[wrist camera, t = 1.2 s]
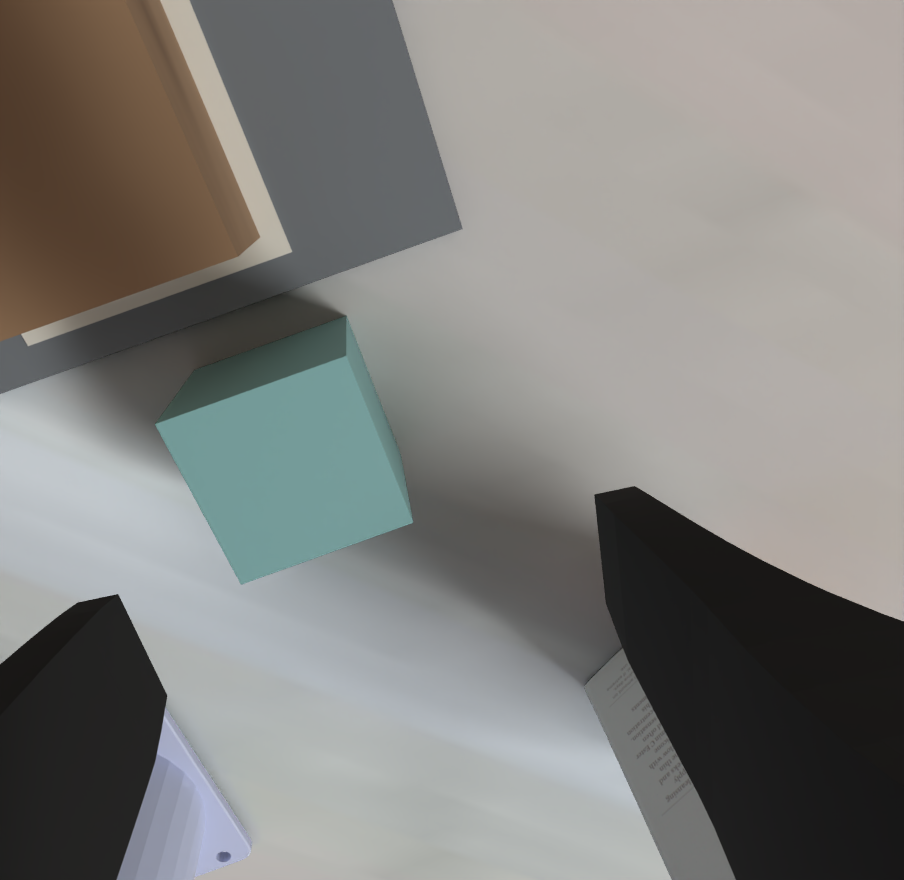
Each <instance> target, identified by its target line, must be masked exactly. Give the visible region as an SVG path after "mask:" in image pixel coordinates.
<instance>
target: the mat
mask: <svg viewBox="0 0 904 880" xmlns="http://www.w3.org/2000/svg"><path fill="white" fill-rule="evenodd" d="M160 1H161V3H162V6H163V8H164V10H165V13H166V15H167V18H168V20H169V22H170V25H171V27H172V29H173V32H174V34H175V37H176V39H177V41H178V44H179V46H180V48H181V51H182V53H183V55H184V58H185V60H186V63H187V65H188V67H189V70H190V72H191V74H192V77H193V79H194V81H195V84H196V86H197V89H198V91H199V93H200V96H201V98H202V100H203V103H204V105H205V107H206V110H207V112H208V115H209V117H210V119H211V122H212V124H213V126H214V129H215V131H216V133H217V136H218V138H219V141H220V143H221V145H222V148H223V150H224V152H225V155H226V157H227V159H228V162H229V164H230V167H231V169H232V171H233V174H234V176H235V178H236V181H237V183H238V185H239V188H240V190H241V193H242V195H243V197H244V200H245V202H246V204H247V207H248V209H249V211H250V214H251V216H252V219H253V221H254V223H255V226H256V228H257V230H258V233H259V235H260V238H259V239H258V240H257V241H255V242H254V243H253V244H252V245H251V246H250V247H249V248H247V249H246V250H245V251H244V252H243V253H242V254H241V255H239V256H238V257H236V258H233V259H230V260H227V261H225V262H222V263H219V264H216V265H213V266H211V267H208V268H205V269H202V270H199V271H197V272H194V273H191V274H188V275H185V276H183V277H180V278H177V279H174V280H171V281H168V282H166V283H163V284H160V285H157V286H154V287H152V288H149V289H146V290H143V291H140V292H138V293H135V294H132V295H129V296H126V297H124V298H121V299H118V300H115V301H112V302H110V303H107V304H104V305H101V306H98V307H96V308H93V309H90V310H87V311H84V312H82V313H79V314H76V315H73V316H70V317H67V318H65V319H62V320H59V321H56V322H53V323H51V324H48V325H45V326H42V327H39V328H37V329H34V330H31V331H28V332H25V333H23V334H20V335H17V336H14V337H11V338H9V339H6V340H3V341H0V394H1V393H4V392H7V391H10V390H12V389H15V388H18V387H21V386H24V385H26V384H29V383H32V382H35V381H38V380H40V379H43V378H46V377H49V376H52V375H54V374H57V373H60V372H63V371H66V370H68V369H71V368H74V367H77V366H80V365H82V364H85V363H88V362H91V361H94V360H96V359H99V358H102V357H105V356H108V355H110V354H113V353H116V352H119V351H122V350H124V349H127V348H130V347H133V346H136V345H138V344H141V343H144V342H147V341H150V340H152V339H155V338H158V337H161V336H164V335H167V334H169V333H172V332H175V331H178V330H181V329H183V328H186V327H189V326H192V325H195V324H197V323H200V322H203V321H206V320H209V319H211V318H214V317H217V316H220V315H223V314H225V313H228V312H231V311H234V310H237V309H239V308H242V307H245V306H248V305H251V304H253V303H256V302H259V301H262V300H265V299H267V298H270V297H273V296H276V295H279V294H281V293H284V292H287V291H290V290H293V289H295V288H298V287H301V286H304V285H307V284H309V283H312V282H315V281H318V280H321V279H323V278H326V277H329V276H332V275H335V274H337V273H340V272H343V271H346V270H349V269H351V268H354V267H357V266H360V265H363V264H365V263H368V262H371V261H374V260H377V259H379V258H382V257H385V256H388V255H391V254H393V253H396V252H399V251H402V250H405V249H407V248H410V247H413V246H416V245H419V244H422V243H424V242H427V241H430V240H433V239H436V238H438V237H441V236H444V235H447V234H450V233H452V232H455V231H458V230H461V229H462V225H461V222H460V219H459V216H458V212H457V209H456V206H455V203H454V199H453V196H452V193H451V190H450V186H449V183H448V180H447V177H446V173H445V170H444V167H443V164H442V160H441V157H440V154H439V151H438V147H437V144H436V141H435V138H434V135H433V131H432V128H431V125H430V122H429V118H428V115H427V112H426V109H425V105H424V102H423V99H422V96H421V92H420V89H419V86H418V83H417V79H416V76H415V73H414V70H413V66H412V63H411V60H410V57H409V53H408V50H407V47H406V44H405V40H404V37H403V34H402V31H401V27H400V24H399V21H398V18H397V14H396V11H395V8H394V5H393V1H392V0H160Z"/></svg>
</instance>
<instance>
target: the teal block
mask: <svg viewBox="0 0 904 880" xmlns="http://www.w3.org/2000/svg"><path fill="white" fill-rule="evenodd" d="M155 425H156V427H157V429H158V431H159V433H160V435H161V437H162V438H163V440H164V442H165V444H166V446H167V448H168V450H169V452H170V453H171V455H172V457H173V459H174V461H175V463H176V465H177V466H178V468H179V470H180V472H181V474H182V476H183V478H184V479H185V481H186V483H187V485H188V487H189V489H190V491H191V492H192V494H193V496H194V498H195V500H196V502H197V504H198V505H199V507H200V509H201V511H202V513H203V515H204V517H205V518H206V520H207V522H208V524H209V526H210V528H211V530H212V531H213V533H214V535H215V537H216V539H217V541H218V543H219V544H220V546H221V548H222V550H223V552H224V554H225V556H226V557H227V559H228V561H229V563H230V565H231V567H232V569H233V570H234V572H235V574H236V576H237V578H238V580H239V582H240V583H241V584H244V583H247V582H250V581H253V580H255V579H258V578H261V577H264V576H266V575H269V574H272V573H275V572H278V571H280V570H283V569H286V568H289V567H292V566H294V565H297V564H300V563H303V562H305V561H308V560H311V559H314V558H317V557H319V556H322V555H325V554H328V553H330V552H333V551H336V550H339V549H342V548H344V547H347V546H350V545H353V544H355V543H358V542H361V541H364V540H367V539H369V538H372V537H375V536H378V535H380V534H383V533H386V532H389V531H392V530H394V529H397V528H400V527H403V526H406V525H408V524H411V523H413V519H412V513H411V508H410V502H409V497H408V492H407V486H406V481H405V475H404V470H403V465H402V459H401V454H400V452H399V449H398V446H397V444H396V441H395V439H394V436H393V434H392V431H391V429H390V426H389V423H388V421H387V418H386V416H385V413H384V411H383V408H382V406H381V403H380V400H379V398H378V395H377V393H376V390H375V388H374V385H373V383H372V380H371V377H370V375H369V372H368V370H367V367H366V365H365V362H364V360H363V357H362V354H361V352H360V349H359V347H358V344H357V342H356V339H355V337H354V334H353V331H352V329H351V326H350V324H349V321H348V319H347V316H345V317H342V318H339V319H336V320H334V321H331V322H328V323H325V324H322V325H319V326H317V327H314V328H311V329H308V330H305V331H303V332H300V333H297V334H294V335H291V336H289V337H286V338H283V339H280V340H277V341H275V342H272V343H269V344H266V345H263V346H261V347H258V348H255V349H252V350H249V351H247V352H244V353H241V354H238V355H235V356H233V357H230V358H227V359H224V360H221V361H219V362H216V363H213V364H210V365H207V366H205V367H202V368H199V369H196V370H194V371H193V373H192V374H191V376H190V377H189V378H188V380H187V381H186V382H185V384H184V385H183V386H182V388H181V389H180V391H179V392H178V393H177V395H176V396H175V397H174V399H173V400H172V402H171V403H170V404H169V406H168V407H167V408H166V410H165V411H164V412H163V414H162V415H161V417H160V418H159V419H158V421H157V422H156V423H155Z"/></svg>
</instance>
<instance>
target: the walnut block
mask: <svg viewBox="0 0 904 880" xmlns="http://www.w3.org/2000/svg"><path fill="white" fill-rule="evenodd" d="M259 238H260V235H259V233H258V230H257V228H256V226H255V223H254V221H253V219H252V216H251V214H250V211H249V209H248V207H247V204H246V202H245V200H244V197H243V195H242V193H241V190H240V188H239V185H238V183H237V181H236V178H235V176H234V174H233V171H232V169H231V167H230V164H229V162H228V159H227V157H226V155H225V152H224V150H223V148H222V145H221V143H220V141H219V138H218V136H217V133H216V131H215V129H214V126H213V124H212V122H211V119H210V117H209V115H208V112H207V110H206V107H205V105H204V103H203V100H202V98H201V96H200V93H199V91H198V89H197V86H196V84H195V81H194V79H193V77H192V74H191V72H190V70H189V67H188V65H187V63H186V60H185V58H184V55H183V53H182V51H181V48H180V46H179V44H178V41H177V39H176V37H175V34H174V32H173V29H172V27H171V25H170V22H169V20H168V18H167V15H166V13H165V10H164V8H163V6H162V3H161V1H160V0H0V341H3V340H6V339H9V338H11V337H14V336H17V335H20V334H23V333H25V332H28V331H31V330H34V329H37V328H39V327H42V326H45V325H48V324H51V323H53V322H56V321H59V320H62V319H65V318H67V317H70V316H73V315H76V314H79V313H82V312H84V311H87V310H90V309H93V308H96V307H98V306H101V305H104V304H107V303H110V302H112V301H115V300H118V299H121V298H124V297H126V296H129V295H132V294H135V293H138V292H140V291H143V290H146V289H149V288H152V287H154V286H157V285H160V284H163V283H166V282H168V281H171V280H174V279H177V278H180V277H183V276H185V275H188V274H191V273H194V272H197V271H199V270H202V269H205V268H208V267H211V266H213V265H216V264H219V263H222V262H225V261H227V260H230V259H233V258H236V257H238V256H239V255H241V254H242V253H243V252H244V251H245V250H246V249H247V248H249V247H250V246H251V245H252V244H253V243H254V242H255V241H257V240H258V239H259Z"/></svg>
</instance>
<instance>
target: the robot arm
mask: <svg viewBox="0 0 904 880" xmlns="http://www.w3.org/2000/svg"><path fill="white" fill-rule="evenodd" d="M594 496H595V505H596V514H597V523H598V533H599V542H600V551H601V561H602V570H603V579H604V589H605V598H606V604H607V607H608V610H609V612H610V615H611V618H612V621H613V623H614V626H615V629H616V631H617V634H618V637H619V639H620V642H621V644H622V647H623V650H624V652H625V655H626V657H627V660H628V662H629V664H630V666H631V668H632V670H633V672H634V674H635V676H636V678H637V680H638V681H639V683H640V685H641V687H642V689H643V691H644V693H645V695H646V697H647V699H648V701H649V702H650V704H651V706H652V708H653V710H654V712H655V714H656V716H657V718H658V719H659V721H660V723H661V725H662V727H663V729H664V731H665V733H666V735H667V736H668V738H669V740H670V742H671V744H672V746H673V748H674V750H675V752H676V753H677V755H678V757H679V759H680V761H681V763H682V765H683V767H684V768H685V770H686V772H687V774H688V776H689V778H690V780H691V782H692V784H693V785H694V787H695V789H696V791H697V793H698V795H699V797H700V799H701V801H702V803H703V805H704V808H705V810H706V812H707V814H708V816H709V818H710V820H711V822H712V824H713V826H714V829H715V831H716V833H717V836H718V838H719V841H720V843H721V845H722V848H723V850H724V853H725V855H726V857H727V860H728V862H729V865H730V867H731V869H732V872H733V874H734V877H735V879H736V880H904V622H903V621H901V620H898V619H895V618H892V617H889V616H887V615H884V614H881V613H879V612H877V611H874V610H872V609H869V608H867V607H864V606H862V605H859V604H857V603H854V602H852V601H849V600H847V599H844V598H842V597H840V596H837V595H835V594H832V593H830V592H827V591H825V590H823V589H821V588H818V587H816V586H814V585H812V584H810V583H807V582H805V581H803V580H801V579H799V578H797V577H795V576H793V575H791V574H789V573H787V572H785V571H783V570H781V569H779V568H777V567H775V566H773V565H770V564H768V563H766V562H764V561H762V560H760V559H759V558H757V557H755V556H753V555H751V554H749V553H747V552H745V551H744V550H742V549H740V548H738V547H736V546H734V545H733V544H731V543H729V542H727V541H725V540H724V539H722V538H720V537H718V536H717V535H715V534H713V533H711V532H710V531H708V530H706V529H705V528H703V527H701V526H699V525H698V524H696V523H694V522H693V521H691V520H689V519H688V518H686V517H685V516H683V515H681V514H680V513H678V512H676V511H675V510H673V509H671V508H670V507H668V506H667V505H665V504H663V503H662V502H660V501H658V500H657V499H655V498H654V497H652V496H650V495H649V494H647V493H645V492H644V491H642V490H640V489H638V488H637V487H635V486H633V487H628V488H624V489H619V490H614V491H609V492H605V493H600V494H595V495H594ZM166 700H167V694H166V692H165V690H164V688H163V686H162V684H161V682H160V680H159V678H158V676H157V673H156V671H155V669H154V667H153V665H152V663H151V661H150V659H149V657H148V655H147V653H146V651H145V649H144V647H143V645H142V642H141V640H140V638H139V636H138V634H137V632H136V630H135V628H134V626H133V624H132V622H131V620H130V618H129V616H128V614H127V611H126V609H125V607H124V605H123V603H122V601H121V599H120V597H119V595H118V594H117V595H112V596H107V597H102V598H98V599H93V600H88V601H83V602H78V603H77V604H75V605H74V606H72V607H71V608H69V609H68V610H66V611H65V612H64V613H62V614H61V615H60V616H58V617H57V618H56V619H54V620H53V621H52V622H51V623H49V624H48V625H47V626H46V627H44V628H43V629H42V630H41V631H39V632H38V633H37V634H36V635H35V636H33V637H32V638H31V639H30V640H29V641H27V642H26V643H25V644H24V645H23V646H21V647H20V648H19V649H18V650H17V651H16V652H14V653H13V654H12V655H11V656H10V657H8V658H7V659H6V660H5V661H4V662H3V663H1V664H0V880H194V879H195V877H196V876H199V875H202V874H205V873H207V872H210V871H213V870H216V869H218V868H221V867H224V866H227V865H229V864H232V863H235V862H238V861H241V860H243V859H245V858H247V857H248V856H249V854H250V852H251V846H252V841H251V838H250V837H249V835H248V834H247V832H246V831H245V829H244V828H243V826H242V825H241V823H240V821H239V820H238V818H237V817H236V815H235V814H234V812H233V811H232V809H231V808H230V806H229V804H228V803H227V801H226V800H225V798H224V797H223V795H222V794H221V792H220V791H219V789H218V788H217V786H216V784H215V783H214V781H213V780H212V778H211V777H210V775H209V774H208V772H207V771H206V769H205V767H204V766H203V764H202V763H201V761H200V760H199V758H198V757H197V755H196V754H195V752H194V750H193V749H192V747H191V746H190V744H189V743H188V741H187V740H186V738H185V737H184V735H183V733H182V732H181V730H180V729H179V727H178V726H177V724H176V723H175V721H174V720H173V718H172V716H171V715H170V713H169V712H168V710H167V709H166V707H165V706H166ZM224 851H225V852H224Z"/></svg>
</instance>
